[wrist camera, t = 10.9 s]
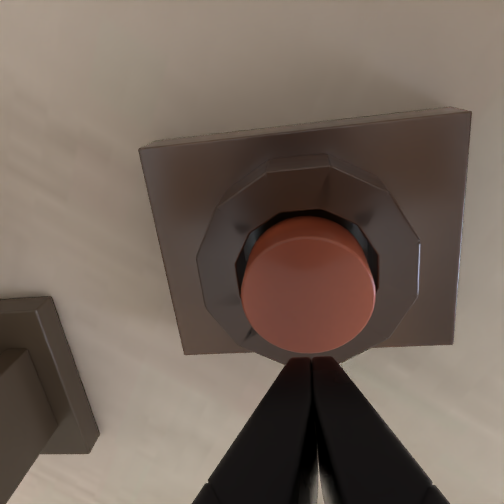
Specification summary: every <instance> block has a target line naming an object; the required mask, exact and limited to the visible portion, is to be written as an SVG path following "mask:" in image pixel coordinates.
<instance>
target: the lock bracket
mask: <svg viewBox="0 0 504 504" xmlns="http://www.w3.org/2000/svg"><path fill="white" fill-rule="evenodd" d="M98 437H99V431H98V428H97V426H96V423H95V420H94V417H93V414H92V411H91V409H90V406H89V403H88V400H87V397H86V394H85V392H84V389H83V386H82V383H81V380H80V377H79V375H78V372H77V369H76V366H75V363H74V360H73V358H72V355H71V352H70V349H69V346H68V343H67V340H66V338H65V335H64V332H63V329H62V326H61V323H60V321H59V318H58V315H57V312H56V309H55V306H54V304H53V301H52V298H51V297H34V298H18V299H2V300H0V504H6V503H7V502H8V500H9V499H10V497H11V496H12V494H13V493H14V491H15V490H16V488H17V487H18V485H19V484H20V482H21V481H22V479H23V478H24V476H25V475H26V473H27V472H28V470H29V469H30V468H31V466H32V465H33V463H34V462H35V460H36V459H37V457H38V456H39V454H89V453H90V452H91V450H92V448H93V446H94V444H95V442H96V441H97V439H98Z"/></svg>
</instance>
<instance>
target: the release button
mask: <svg viewBox="0 0 504 504" xmlns="http://www.w3.org/2000/svg"><path fill="white" fill-rule="evenodd" d="M375 300H376V289H375V283H374V279H373V276H372V273H371V271H370V268H369V265H368V263H367V260H366V257H365V255H364V252H363V250H362V247H361V246H360V244H359V242H358V241H357V239H356V238H355V237H354V236H353V235H352V234H351V233H350V232H349V231H348V230H347V229H346V228H344V227H343V226H341V225H340V224H338V223H336V222H334V221H331V220H329V219H326V218H322V217H316V216H298V217H292V218H289V219H285V220H283V221H280V222H278V223H276V224H275V225H273V226H271V227H270V228H269V229H267V230H266V231H265V232H264V233H263V234H262V235H261V236H260V237H259V238H258V239H257V241H256V242H255V244H254V246H253V247H252V249H251V252H250V255H249V258H248V262H247V266H246V269H245V273H244V277H243V281H242V285H241V303H242V307H243V310H244V313H245V316H246V318H247V319H248V321H249V323H250V324H251V326H252V327H253V328H254V330H255V331H256V332H257V333H258V334H259V335H260V336H261V337H263V338H264V339H265V340H266V341H268V342H270V343H271V344H273V345H275V346H277V347H279V348H282V349H284V350H287V351H292V352H297V353H321V352H326V351H330V350H333V349H336V348H338V347H340V346H342V345H344V344H346V343H348V342H349V341H351V340H352V339H353V338H355V337H356V336H357V335H358V334H359V333H360V332H361V331H362V330H363V328H364V327H365V326H366V324H367V323H368V321H369V319H370V317H371V315H372V312H373V310H374V306H375Z"/></svg>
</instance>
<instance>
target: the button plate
mask: <svg viewBox="0 0 504 504" xmlns="http://www.w3.org/2000/svg"><path fill="white" fill-rule="evenodd" d="M471 117H472V112H471V111H468V110H463V109H459V108H454V107H444V108H435V109H427V110H418V111H409V112H401V113H392V114H383V115H375V116H366V117H357V118H348V119H340V120H331V121H322V122H314V123H305V124H296V125H288V126H279V127H270V128H261V129H253V130H244V131H235V132H227V133H218V134H209V135H200V136H192V137H183V138H174V139H166V140H157V141H154V142H152V143H149V144H147V145H145V146H143V147H141V148H139V149H138V151H139V155H140V160H141V164H142V169H143V173H144V178H145V182H146V187H147V191H148V196H149V200H150V204H151V209H152V213H153V218H154V222H155V227H156V231H157V236H158V240H159V245H160V249H161V253H162V258H163V262H164V267H165V271H166V276H167V280H168V285H169V289H170V294H171V298H172V302H173V307H174V311H175V316H176V320H177V325H178V329H179V334H180V338H181V343H182V347H183V351H184V355H197V354H223V353H249V352H255V353H257V354H260V355H262V356H265V357H267V358H269V359H272V360H274V361H277V362H279V363H282V364H284V365H286V363H287V362H288V361H289V359H290V358H292V357H309V358H310V359H311V362H312V358H313V357H317V356H332V357H333V358H334V359H335V360H336V361H337V363H338V364H339V363H342V362H344V361H346V360H348V359H350V358H352V357H354V356H356V355H358V354H360V353H362V352H364V351H366V350H368V349H370V348H379V347H405V346H431V345H452V344H453V342H454V330H455V317H456V305H457V292H458V280H459V267H460V255H461V242H462V230H463V217H464V205H465V192H466V180H467V167H468V155H469V142H470V130H471ZM298 216H316V217H322V218H326V219H329V220H331V221H334V222H336V223H338V224H340V225H341V226H343V227H344V228H346V229H347V230H348V231H349V232H350V233H351V234H352V235H353V236H354V237H355V238H356V239H357V241H358V242H359V244H360V246H361V247H362V250H363V252H364V255H365V257H366V260H367V263H368V265H369V268H370V271H371V273H372V276H373V279H374V283H375V289H376V300H375V306H374V310H373V312H372V315H371V317H370V319H369V321H368V323H367V324H366V326H365V327H364V328H363V330H362V331H361V332H360V333H359V334H358V335H357V336H356V337H355V338H353V339H352V340H351V341H349V342H348V343H346V344H344V345H342V346H340V347H338V348H336V349H333V350H330V351H326V352H321V353H297V352H292V351H287V350H284V349H282V348H279V347H277V346H275V345H273V344H271V343H270V342H268V341H266V340H265V339H264V338H263V337H261V336H260V335H259V334H258V333H257V332H256V331H255V330H254V328H253V327H252V326H251V324H250V323H249V321H248V319H247V318H246V316H245V313H244V310H243V307H242V303H241V285H242V281H243V277H244V273H245V269H246V266H247V262H248V258H249V255H250V252H251V249H252V247H253V246H254V244H255V242H256V241H257V239H258V238H259V237H260V236H261V235H262V234H263V233H264V232H265V231H266V230H267V229H269V228H270V227H271V226H273V225H275V224H276V223H278V222H280V221H283V220H285V219H289V218H292V217H298Z"/></svg>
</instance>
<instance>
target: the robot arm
mask: <svg viewBox="0 0 504 504" xmlns="http://www.w3.org/2000/svg"><path fill="white" fill-rule="evenodd" d="M317 451H318V452H317ZM318 463H319V474H320V481H321V488H322V494H323V499H324V504H450V503H449V502H448V501H447V499H446V498H445V497H444V495H443V494H442V493H441V492H440V490H439V489H438V488H437V487H436V486H435V485H432V481H431V479H430V478H429V477H428V476H427V474H426V473H425V472H424V471H423V469H422V468H421V467H420V466H419V464H418V463H417V462H416V461H415V459H414V458H413V457H412V456H411V454H410V453H409V452H408V451H407V449H406V448H405V447H404V446H403V444H402V443H401V442H400V440H399V439H398V438H397V437H396V435H395V434H394V433H393V432H392V430H391V429H390V428H389V427H388V425H387V424H386V423H385V422H384V420H383V419H382V418H381V417H380V415H379V414H378V413H377V412H376V410H375V409H374V408H373V407H372V405H371V404H370V403H369V402H368V400H367V399H366V398H365V397H364V395H363V394H362V393H361V392H360V390H359V389H358V388H357V386H356V385H355V384H354V383H353V381H352V380H351V379H350V378H349V376H348V375H347V374H346V373H345V371H344V370H343V369H342V368H341V366H340V365H339V364H338V363H337V361H336V360H335V359H334V358H333V357H332V356H317V357H313V358H312V362H311V359H310V358H309V357H292V358H290V359H289V361H288V362H287V363H286V365H285V366H284V368H283V369H282V371H281V372H280V374H279V375H278V377H277V378H276V380H275V381H274V383H273V384H272V386H271V387H270V389H269V390H268V392H267V393H266V395H265V396H264V398H263V399H262V401H261V402H260V404H259V405H258V406H257V408H256V409H255V411H254V412H253V414H252V415H251V417H250V418H249V420H248V421H247V423H246V424H245V426H244V427H243V429H242V430H241V432H240V433H239V435H238V436H237V438H236V439H235V441H234V442H233V444H232V445H231V447H230V448H229V449H228V451H227V452H226V454H225V455H224V457H223V458H222V460H221V461H220V463H219V464H218V466H217V467H216V469H215V470H214V472H213V473H212V475H211V476H210V478H209V479H208V483H206V484H205V485H204V486H203V488H202V489H201V491H200V492H199V494H198V495H197V497H196V498H195V500H194V501H193V503H192V504H317V497H318Z"/></svg>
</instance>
